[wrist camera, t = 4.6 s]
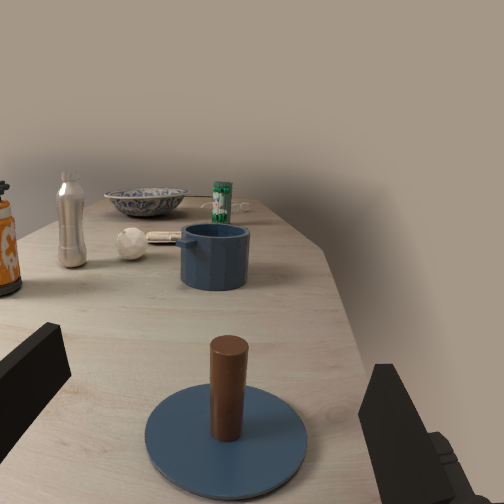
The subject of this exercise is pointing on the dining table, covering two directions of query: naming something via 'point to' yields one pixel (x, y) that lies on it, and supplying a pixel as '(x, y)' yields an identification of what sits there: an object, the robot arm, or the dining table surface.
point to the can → (222, 202)
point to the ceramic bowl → (146, 200)
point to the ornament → (131, 243)
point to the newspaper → (163, 236)
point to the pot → (214, 256)
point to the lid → (226, 432)
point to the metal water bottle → (71, 221)
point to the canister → (8, 248)
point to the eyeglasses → (236, 207)
